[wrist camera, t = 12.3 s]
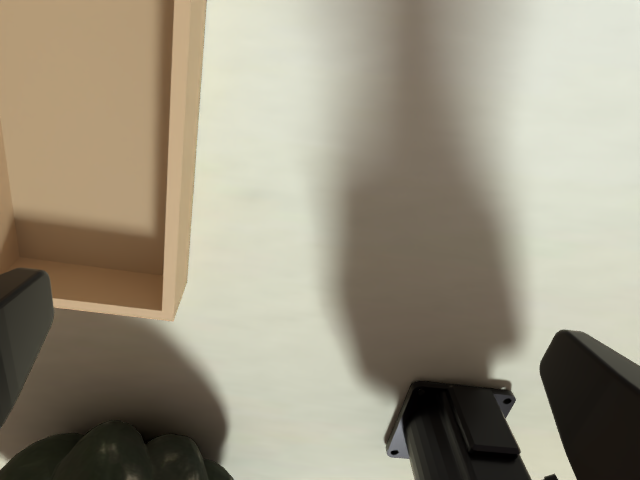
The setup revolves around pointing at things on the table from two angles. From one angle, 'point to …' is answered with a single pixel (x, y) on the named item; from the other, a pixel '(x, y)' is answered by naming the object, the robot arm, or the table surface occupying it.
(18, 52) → the cardboard box
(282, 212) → the table surface
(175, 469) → the squash
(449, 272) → the table surface
